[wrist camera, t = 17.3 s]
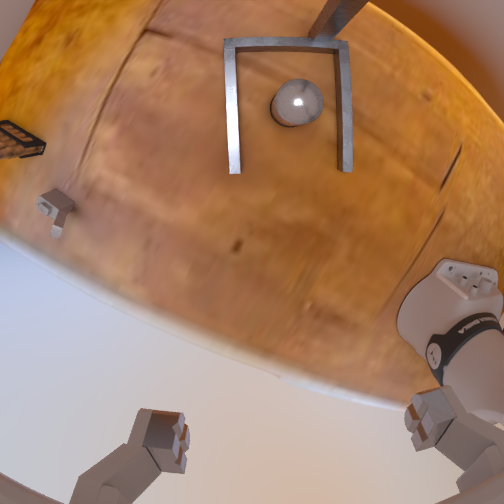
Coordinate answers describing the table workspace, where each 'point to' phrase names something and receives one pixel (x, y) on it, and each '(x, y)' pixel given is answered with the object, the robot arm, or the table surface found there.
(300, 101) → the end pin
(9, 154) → the ammunition clip
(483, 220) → the table surface
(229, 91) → the grey metal bar frame
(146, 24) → the table surface
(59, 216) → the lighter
